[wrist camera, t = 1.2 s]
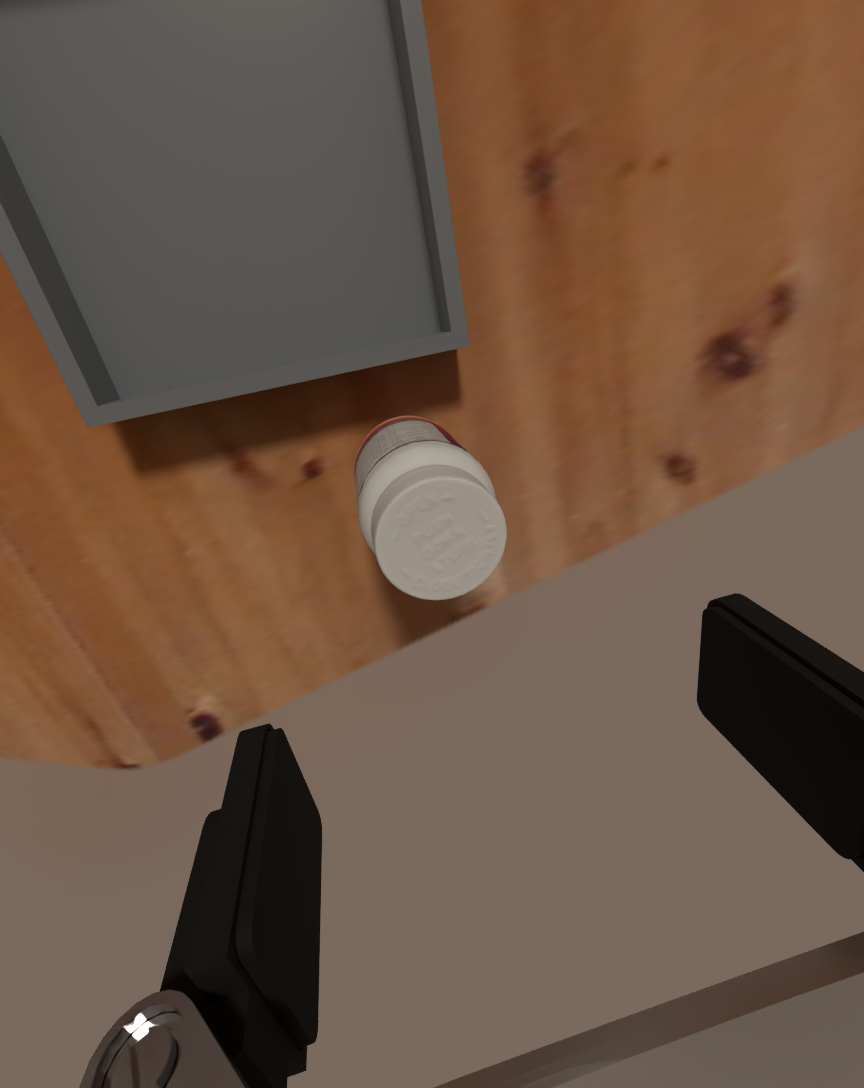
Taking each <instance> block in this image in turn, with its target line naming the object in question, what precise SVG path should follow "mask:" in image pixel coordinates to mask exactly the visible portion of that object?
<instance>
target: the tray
mask: <svg viewBox="0 0 864 1088" xmlns="http://www.w3.org/2000/svg"><path fill="white" fill-rule="evenodd" d="M0 251H1V253H2V255H3V257H4V259H5V261H6V263H7V265H8V267H9V269H10V271H11V273H12V275H13V277H14V279H15V281H16V283H17V285H18V287H19V289H20V291H21V293H22V296H23V298H24V300H25V302H26V304H27V306H28V308H29V310H30V312H31V314H32V316H33V318H34V320H35V322H36V324H37V326H38V328H39V330H40V332H41V334H42V336H43V338H44V340H45V342H46V344H47V346H48V348H49V350H50V352H51V354H52V356H53V358H54V360H55V362H56V364H57V366H58V368H59V370H60V372H61V375H62V377H63V379H64V381H65V383H66V385H67V387H68V389H69V391H70V393H71V395H72V397H73V399H74V401H75V403H76V405H77V407H78V409H79V411H80V413H81V415H82V417H83V419H84V421H85V423H86V425H87V427H88V428H90V427H94V426H99V425H104V424H108V423H113V422H118V421H122V420H127V419H132V418H136V417H141V416H146V415H150V414H155V413H160V412H164V411H169V410H174V409H178V408H183V407H188V406H192V405H197V404H202V403H206V402H211V401H216V400H220V399H225V398H230V397H234V396H239V395H244V394H248V393H253V392H258V391H262V390H267V389H272V388H276V387H281V386H286V385H290V384H295V383H300V382H304V381H309V380H314V379H318V378H323V377H328V376H332V375H337V374H342V373H347V372H351V371H356V370H361V369H365V368H370V367H375V366H379V365H384V364H389V363H393V362H398V361H403V360H407V359H412V358H417V357H421V356H426V355H431V354H435V353H440V352H445V351H449V350H454V349H459V348H463V347H468V346H470V342H469V335H468V328H467V321H466V314H465V307H464V300H463V293H462V285H461V278H460V271H459V264H458V257H457V250H456V243H455V236H454V229H453V222H452V214H451V207H450V200H449V193H448V186H447V179H446V172H445V165H444V158H443V150H442V143H441V136H440V129H439V122H438V115H437V108H436V101H435V94H434V87H433V79H432V72H431V65H430V58H429V51H428V44H427V37H426V30H425V23H424V16H423V8H422V1H421V0H0Z"/></svg>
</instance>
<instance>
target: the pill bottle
mask: <svg viewBox="0 0 864 1088" xmlns="http://www.w3.org/2000/svg"><path fill="white" fill-rule="evenodd" d="M355 481H356V491H357V504H358V516H359V522H360V528H361V531H362V534H363V536H364V539H365V541H366V543H367V544H368V546H369V548H370V549H371V550H372V552H373V553H374V554H375V555H376V559H377V561H378V564H379V566H380V568H381V570H382V572H383V574H384V575H385V576H386V578H387V579H388V580H389V581H390V582H391V583H392V584H393V585H394V586H395V587H397V588H398V589H399V590H401V591H403V592H405V593H407V594H409V595H411V596H414V597H417V598H420V599H426V600H445V599H451V598H455V597H459V596H461V595H464V594H466V593H468V592H470V591H472V590H474V589H475V588H477V587H478V586H479V585H481V584H482V583H483V582H484V581H485V580H487V579H488V577H489V576H490V575H491V574H492V573H493V572H494V570H495V569H496V567H497V566H498V564H499V562H500V560H501V558H502V556H503V553H504V550H505V546H506V539H507V529H506V522H505V518H504V514H503V512H502V510H501V507H500V506H499V504H498V502H497V501H496V496H495V491H494V488H493V485H492V482H491V480H490V478H489V476H488V474H487V473H486V471H485V470H484V468H483V467H482V465H481V464H480V463H479V462H478V461H477V460H476V459H475V458H474V457H473V456H472V455H471V454H470V453H468V452H467V451H466V450H465V449H464V448H463V447H462V446H461V445H460V444H459V443H458V442H457V441H456V440H455V439H454V438H453V437H452V436H451V435H450V434H449V433H448V432H447V431H446V430H444V429H443V428H442V427H441V426H439V425H438V424H436V423H434V422H433V421H430V420H428V419H425V418H422V417H417V416H400V417H395V418H392V419H389V420H386V421H384V422H383V423H381V424H379V425H378V426H376V427H375V428H374V429H373V430H372V431H371V432H370V433H369V434H368V435H367V436H366V438H365V439H364V440H363V442H362V444H361V446H360V448H359V450H358V453H357V457H356V462H355Z"/></svg>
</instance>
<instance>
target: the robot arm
mask: <svg viewBox="0 0 864 1088" xmlns="http://www.w3.org/2000/svg"><path fill="white" fill-rule="evenodd" d="M697 703H698V706H699V709H700V711H701V712H702V714H703V715H704V716H705V717H706V718H707V719H708V720H709V722H711V724H712V725H713V726H714V727H715V728H716V729H717V730H718V731H719V732H720V733H721V734H722V735H723V736H724V737H725V738H726V739H727V740H728V741H729V742H730V743H731V744H732V745H733V746H734V747H735V748H736V749H737V750H738V751H739V753H740V754H742V756H743V757H744V758H745V759H746V760H747V761H748V762H749V763H750V764H751V765H752V766H753V767H754V768H755V769H756V770H757V771H758V772H759V773H760V774H761V775H762V776H763V777H764V778H765V779H766V780H767V781H768V782H769V783H770V785H771V786H772V787H773V788H774V789H775V790H776V791H777V792H778V793H779V794H780V795H781V796H782V797H783V798H784V799H785V800H786V801H787V802H788V803H789V804H790V805H791V806H792V807H793V808H794V809H795V810H796V811H797V812H798V813H799V814H800V816H802V818H803V819H804V820H805V821H806V822H807V823H808V824H809V825H810V826H811V827H812V828H813V829H814V830H815V831H816V832H817V833H818V834H819V835H820V836H821V837H822V838H823V839H824V840H825V841H826V842H827V843H828V844H829V845H830V846H831V847H832V848H833V849H834V850H835V851H836V852H837V853H838V854H839V855H841V856H842V857H844V858H846V859H851V860H852V861H854V863H855V864H856V865H858V867H859V868H860V869H861V870H862V871H863V872H864V672H863V671H861V670H859V669H858V668H856V667H854V666H853V665H852V664H850V663H848V662H847V661H845V660H844V659H842V658H840V657H839V656H837V655H836V654H834V653H833V652H831V651H830V650H828V649H827V648H825V647H823V646H822V645H820V644H819V643H817V642H816V641H814V640H813V639H811V638H809V637H808V636H806V635H804V634H803V633H801V632H800V631H798V630H797V629H795V628H794V627H792V626H790V625H789V624H787V623H786V622H784V621H783V620H781V619H780V618H778V617H776V616H775V615H773V614H772V613H770V612H769V611H767V610H766V609H764V608H762V607H761V606H759V605H757V604H756V603H755V602H753V601H751V600H750V599H748V598H747V597H745V596H743V595H741V594H736V593H735V594H732V595H728V596H724V597H721V598H717V599H714V600H711V601H710V602H709V604H708V606H707V609H705V610H704V611H703V615H702V630H701V645H700V660H699V675H698V690H697ZM321 856H322V824H321V818H320V814H319V811H318V809H317V807H316V805H315V802H314V800H313V798H312V795H311V793H310V791H309V788H308V786H307V784H306V782H305V780H304V777H303V775H302V772H301V770H300V768H299V766H298V763H297V761H296V759H295V756H294V754H293V752H292V749H291V747H290V745H289V743H288V741H287V738H286V736H285V733H284V731H283V730H282V729H281V728H278V729H275V730H274V729H273V727H272V725H270V724H266V725H262V726H258V727H255V728H251V729H248V730H244V731H241V732H240V733H239V736H238V739H237V743H236V747H235V752H234V756H233V761H232V765H231V769H230V773H229V777H228V782H227V786H226V790H225V794H224V799H223V803H222V808H221V809H219V810H216V811H213V812H211V813H210V814H209V815H208V816H207V818H206V820H205V823H204V825H203V829H202V833H201V837H200V840H199V844H198V848H197V852H196V856H195V859H194V863H193V867H192V871H191V874H190V879H189V882H188V886H187V890H186V894H185V897H184V901H183V905H182V909H181V913H180V916H179V920H178V924H177V928H176V932H175V936H174V939H173V943H172V947H171V951H170V955H169V958H168V962H167V966H166V970H165V974H164V978H163V981H162V985H161V989H160V992H157V993H153V994H151V995H150V996H148V997H146V998H144V999H142V1000H141V1001H139V1002H137V1003H136V1004H135V1005H134V1006H133V1007H131V1008H130V1009H129V1010H128V1011H127V1012H126V1013H124V1014H123V1015H122V1016H121V1017H120V1018H119V1019H118V1020H117V1021H116V1023H115V1024H114V1025H113V1026H112V1028H111V1029H110V1030H109V1031H108V1032H107V1034H106V1035H105V1036H104V1037H103V1039H102V1041H101V1043H100V1044H99V1046H98V1047H97V1049H96V1051H95V1052H94V1054H93V1056H92V1057H91V1059H90V1061H89V1064H88V1066H87V1069H86V1071H85V1074H84V1076H83V1079H82V1082H81V1084H80V1088H287V1077H289V1076H292V1075H295V1074H298V1073H301V1072H303V1071H306V1058H307V1045H310V1044H312V1043H314V1042H315V1041H316V1038H317V1032H318V999H319V998H318V997H319V952H320V906H321V859H322V857H321ZM434 1088H864V932H862V933H860V934H857V935H853V936H851V937H848V938H845V939H842V940H839V941H836V942H834V943H831V944H828V945H825V946H822V947H819V948H817V949H814V950H811V951H808V952H805V953H802V954H800V955H797V956H794V957H791V958H788V959H786V960H783V961H780V962H777V963H774V964H771V965H769V966H766V967H763V968H760V969H757V970H755V971H752V972H749V973H746V974H743V975H741V976H738V977H735V978H733V979H729V980H727V981H724V982H721V983H719V984H716V985H713V986H710V987H707V988H704V989H702V990H699V991H696V992H693V993H690V994H688V995H685V996H682V997H680V998H677V999H674V1000H671V1001H668V1002H665V1003H663V1004H660V1005H657V1006H655V1007H652V1008H649V1009H646V1010H643V1011H640V1012H638V1013H635V1014H632V1015H629V1016H627V1017H624V1018H621V1019H618V1020H616V1021H613V1022H610V1023H607V1024H604V1025H602V1026H599V1027H596V1028H594V1029H591V1030H588V1031H586V1032H583V1033H580V1034H577V1035H574V1036H572V1037H569V1038H566V1039H563V1040H561V1041H558V1042H555V1043H553V1044H550V1045H547V1046H544V1047H542V1048H539V1049H536V1050H533V1051H531V1052H528V1053H525V1054H522V1055H520V1056H517V1057H514V1058H512V1059H509V1060H506V1061H503V1062H501V1063H498V1064H495V1065H493V1066H490V1067H487V1068H484V1069H481V1070H479V1071H476V1072H473V1073H471V1074H468V1075H465V1076H462V1077H460V1078H457V1079H455V1080H452V1081H449V1082H447V1083H444V1084H442V1085H439V1086H437V1087H434Z"/></svg>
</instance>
